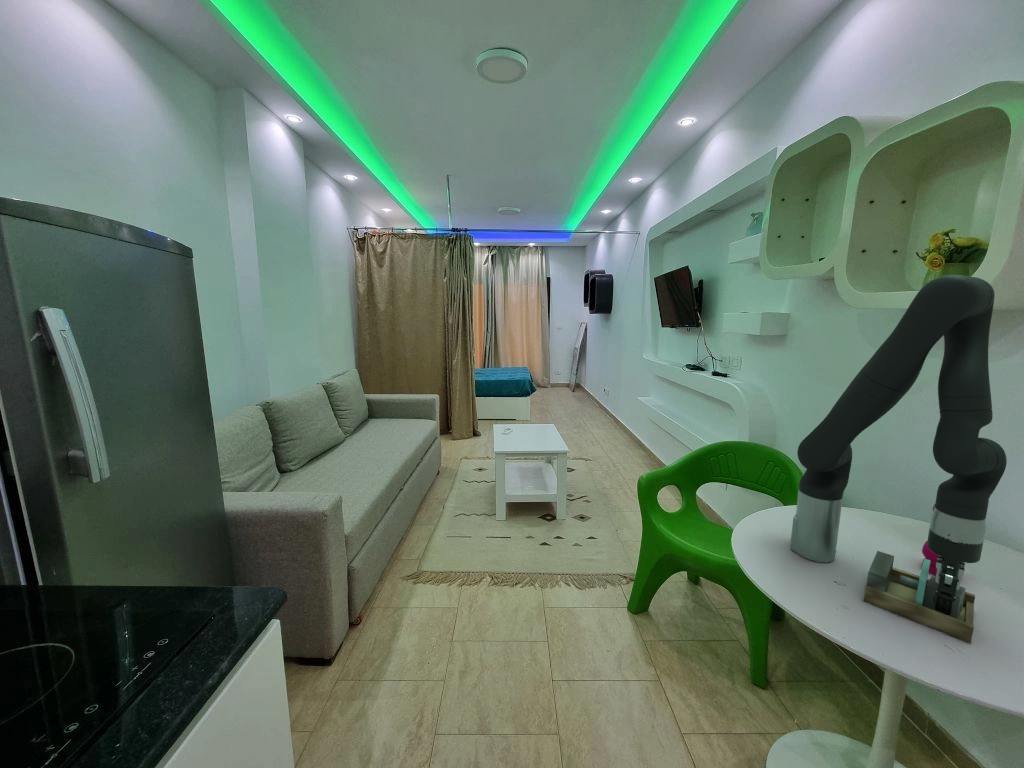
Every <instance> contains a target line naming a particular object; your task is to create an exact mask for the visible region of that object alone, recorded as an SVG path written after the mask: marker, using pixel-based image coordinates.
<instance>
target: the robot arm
mask: <svg viewBox="0 0 1024 768" xmlns="http://www.w3.org/2000/svg"><path fill="white" fill-rule="evenodd" d="M910 302H911V303H910V304H909V306H908V307H907V309H906V311H905V312H904V314H903V315H902V317H901V319H900V320H899V321H898V324H897V325H896V327H895V328H894V329H893V331H892V332H891V333H890V334H889V336H888V337H887V338H886V339H885V341H884V342H883V343H881V345H880V346H879V348H877V350H876V351H875V352H874V354H873V355H872V356H871V357H870V359H869V360H868V361H867V362H866V363H865V364H864V366H863V367H862V368H861V369H860V370H859V372H858V373H857V374H856V375H855V376H854V378H853V379H852V380H851V382H850V383H849V384H848V386H847V388H845V390H844V391H843V392H842V394H841V395H840V397H839V398H838V399H837V401H836V402H835V404H834V405H833V407H832V408H831V409H830V411H829V412H828V414H827V415H826V416H825V417H824V419H823V420H822V421H821V422H820V423H819V424H818V425H817V426H816V427H815V428H814V429H813V430H812V431H811V432H809V434H808V435H806V436H805V437H804V439H802V440H801V442H800V443H799V444H798V447H797V453H796V454H797V458H798V461H799V462H800V465H801V466H803V467H804V468H805V472H804V473H803V475H802V476H801V478H800V479H799V483H798V492H797V493H798V494H797V503H796V511H795V515H794V516H793V518H792V525H791V527H792V528H791V536H790V545H789V549H790V551H793V552H795V553H796V554H797V555H800V556H801V557H802V558H805V559H808V560H809V561H810V560H811V561H813V562H818V563H831V562H833V561H835V558H836V554H837V544H838V537H839V536H838V535H839V530H840V523H841V522H840V521H841V514H842V507H843V498H844V493H845V489H846V488H847V486H848V483H849V479H850V474H851V467H852V462H853V447H852V445H851V444H852V443H853V442H854V440H855V439H857V437H858V436H859V435H860V434H861V433H862V432H864V431H865V430H867V428H869V427H870V426H872V425H873V424H874V423H875V422H877V421H878V420H879V419H881V418H882V417H884V416H885V415H886V414H887V413H888V412H890V411H891V410H892V409H893V408H894V407H895V406H896V405H897V404H898V403H899V401H901V399H903V397H904V396H905V395H907V393H908V392H909V390H910V389H911V388H912V387H913V386H914V384H915V382H916V381H917V379H918V377H919V375H920V374H921V371H922V368H923V367H924V363H925V361H926V359H927V356H928V355H929V354H930V352H931V350H932V349H933V348H934V346H935V345H936V344H937V342H939V341H940V339H942V338H943V343H944V344H943V345H944V347H943V348H944V349H943V350H944V351H943V357H942V361H941V362H942V363H941V366H940V370H939V375H938V381H937V382H938V383H937V397H938V407H939V419H938V420H939V421H938V424H937V427H936V432H935V435H934V438H933V444H932V454H933V458H934V460H935V462H936V464H937V466H938V467H939V468H940V469H942V470H943V471H945V473H948V474H950V475H952V476H951V477H950V478H948V479H947V480H945V481H943V482H941V483H940V484H939V485H938V488H937V490H936V497H935V503H934V504H935V508H934V511H933V510H932V514H931V518H930V521H929V522H930V523H929V529H928V536H927V540H928V541H927V540H926V541H927V546H928V548H929V549H930V550H931V551H933V552H934V553H936V554H938V557H937V563H936V568H937V574H936V575H935V577H936V580H935V581H936V583H938V589H937V590H936V594H937V600H936V606H935V610H936V611H937V612H940V613H943V614H945V615H950V614H951V608H952V603H953V602H954V601H955V599H956V598H955V593H956V590H959V589H960V586H961V582H962V578H963V577H964V575H965V571H966V570H965V569H966V568H965V566H966V564H975V563H976V564H977V563H978V562H980V561H981V557H982V552H983V545H984V541H985V535H986V526H987V525H986V524H987V523H986V519H987V513H988V509H989V503H990V502H989V501H990V498H991V496H992V494H993V493H994V491H995V490H996V488H997V486H998V485H999V484H1000V483H999V482H1000V481H1001V479H1002V477H1003V476H1004V474H1005V471H1006V468H1007V463H1008V462H1007V460H1008V457H1007V454H1006V451H1005V450H1004V449H1003V446H1001V444H999V443H998V442H996V441H994V440H992V439H989V438H985V437H979V435H980V430H981V429H982V428H984V427H986V426H988V425H990V423H992V421H993V418H994V417H993V415H994V414H993V404H992V403H993V402H992V394H991V383H990V370H989V343H990V342H989V341H990V330H991V323H992V317H993V311H994V305H995V290H994V288H993V286H992V285H991V284H990V282H988V281H986V280H985V279H983V278H980V277H975V276H970V275H963V274H947V275H941V276H939V277H936V278H934V279H931V280H930V281H929V282H927V283H926V284H925V285H924V286H922V288H920V290H919V291H918V292H917V294H916V295H915V296H914V298H913V299H912V301H910ZM939 555H940V556H939ZM942 590H946V591H949V592H951V593H948V592H945V591H942Z"/></svg>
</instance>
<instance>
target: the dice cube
mask: <svg viewBox="0 0 1024 768" xmlns="http://www.w3.org/2000/svg"><path fill="white" fill-rule="evenodd" d="M928 579H929V581H928V582H927V583H926V586H925V593H924V599H923V606H925V607H927V608H930V609H932V610H935V606H936V600H937V594H936V590H937V589H938V583H936V581H935V580H936V576H935V575H931V577H930V578H928ZM966 589H967V588H966V587H964V586H962V585H960V589H959V590H956V593H955V598H956V599H955V601H954V602H953V603H952V608H951V614H950V615H948V616H951V617H953V618H956V619H957V618H958V616H959V614H960V612H961V611H962V607H963V601H964V596H965V592H966ZM942 591H945V592H948V593H951V592H949V591H946V590H942ZM935 611H936V610H935Z"/></svg>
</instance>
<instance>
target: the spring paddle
mask: <svg viewBox="0 0 1024 768" xmlns="http://www.w3.org/2000/svg"><path fill="white" fill-rule="evenodd" d="M923 559H924V558H923ZM922 564H923V566H922V565H921V566H922V567H921V571H920V575H919V576H920V578H919V581H917V580H914V579H911V578H908V577H905V576H902V575H901V576H900V581H899V582H900V583H903V584H906V585H909V586H912V587H915V588H917V589H918V590H917V595H916V601H915V603H916V604H919V605H921V606H922V604H923V599H924V593H925V586H926V583H927V579H929V577H928V576H929V567H930V560H927V559H924V562H923V561H922Z"/></svg>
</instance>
